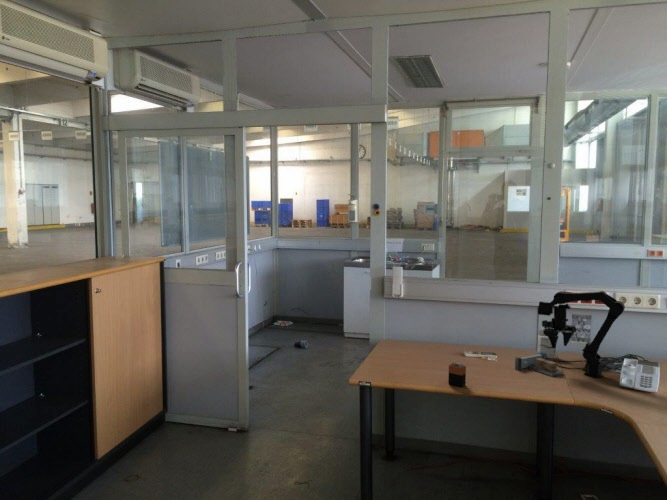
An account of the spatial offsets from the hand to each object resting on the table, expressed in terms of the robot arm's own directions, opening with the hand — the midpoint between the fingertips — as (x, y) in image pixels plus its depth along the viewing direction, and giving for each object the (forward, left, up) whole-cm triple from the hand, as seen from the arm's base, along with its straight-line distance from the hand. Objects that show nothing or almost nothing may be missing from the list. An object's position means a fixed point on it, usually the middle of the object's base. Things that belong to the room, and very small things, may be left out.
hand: (559, 347), depth 255 cm
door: (+9, +9, -11) cm, 17 cm away
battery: (+7, +62, -12) cm, 63 cm away
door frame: (+10, +9, -12) cm, 18 cm away
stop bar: (+1, +9, -11) cm, 14 cm away
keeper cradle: (+1, +9, -12) cm, 15 cm away
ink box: (+18, -13, -12) cm, 25 cm away
